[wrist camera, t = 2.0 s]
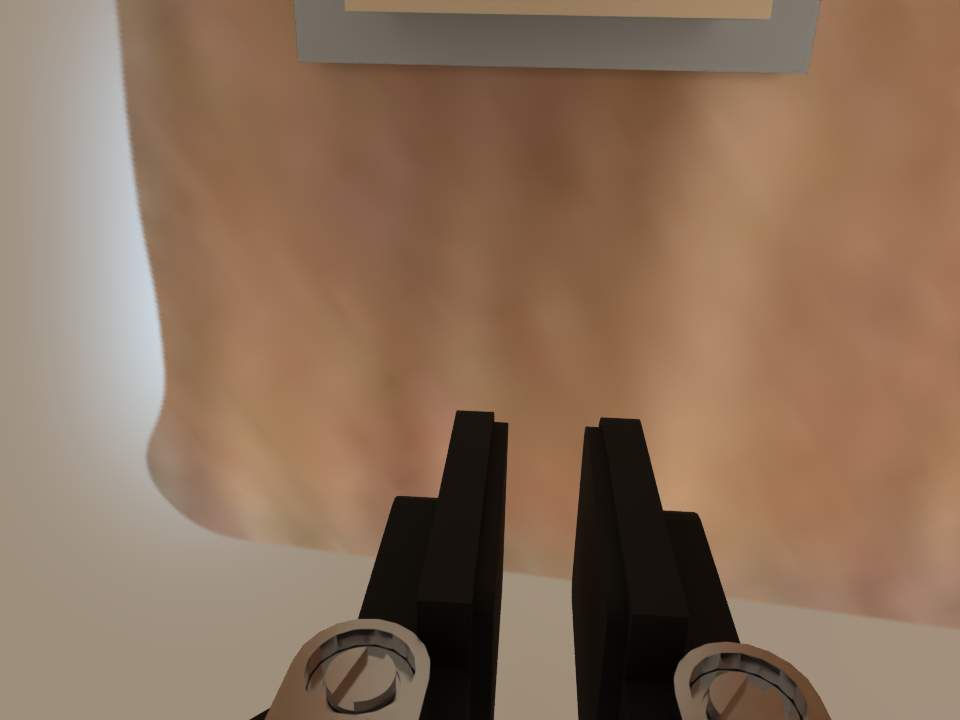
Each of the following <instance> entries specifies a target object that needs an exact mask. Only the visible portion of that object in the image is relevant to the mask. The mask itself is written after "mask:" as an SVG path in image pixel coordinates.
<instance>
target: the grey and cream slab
mask: <svg viewBox="0 0 960 720" xmlns="http://www.w3.org/2000/svg"><path fill="white" fill-rule="evenodd" d="M820 2H821V0H773V5H772V11H771V18H770V19H761V20H726V19H674V18H622V17H570V16H518V15H466V14H415V13H363V12H353V11H345V0H294V9H295V22H296V36H297V49H298V62H321V63H364V64H407V65H450V66H494V67H537V68H580V69H623V70H666V71H710V72H753V73H796V74H808V69H809V63H810V58H811V52H812V47H813V41H814V35H815V30H816V24H817V19H818V13H819V8H820Z"/></svg>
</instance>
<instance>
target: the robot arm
mask: <svg viewBox="0 0 960 720" xmlns="http://www.w3.org/2000/svg"><path fill="white" fill-rule="evenodd" d="M507 447H508V423H503V422H494V412H479V411H459V410H457V412H456V415H455V420H454V425H453V430H452V434H451V439H450V444H449V449H448V453H447V458H446V463H445V468H444V472H443V477H442V482H441V487H440V491H439V496H438V498H428V497H410V496H397V497H395V499H394V502H393V504H392V508H391V511H390V514H389V518H388V521H387V524H386V528H385V531H384V534H383V538H382V541H381V544H380V548H379V551H378V554H377V558H376V561H375V564H374V568H373V571H372V574H371V578H370V581H369V584H368V587H367V591H366V594H365V597H364V601H363V604H362V607H361V611H360V614H359V617H358V619H356V620H352V621H347V622H343V623H338V624H336V625H334V626H332V627H329V628H327V629H325V630H323V631H321V632H319V633H318V634H316V635H315V636H314V637H313V638H311V639H310V640H309V641H308V642H306V643H305V644H304V645H303V646H302V648H301V649H300V651H299V652H298V654H297V655H296V656H295V658H294V659H293V661H292V663H291V665H290V667H289V669H288V671H287V674H286V676H285V678H284V680H283V682H282V684H281V686H280V688H279V690H278V692H277V695H276V697H275V699H274V701H273V703H272V705H271V707H270V708H269V709H267V710H266V711H264V712H262V713H260V714H259V715H257V716H255V717H254V718H252V719H250V720H494V706H495V690H496V674H497V660H498V644H499V627H500V614H501V613H500V612H501V598H502V580H503V554H504V528H505V501H506V474H507ZM572 610H573V630H574V647H575V665H576V684H577V701H578V719H579V720H831V718H830V716H829V714H828V712H827V710H826V708H825V706H824V704H823V702H822V700H821V698H820V696H819V695H818V693H817V692H816V691H815V689H814V687H813V686H812V685H811V683H810V682H809V680H808V679H807V678H806V677H805V676H804V675H803V674H802V673H800V672H799V671H798V670H797V669H796V668H795V667H794V666H793V665H791V664H790V663H788V662H787V661H785V660H783V659H781V658H780V657H778V656H776V655H774V654H773V653H771V652H769V651H766V650H763V649H760V648H757V647H754V646H751V645H748V644H741V643H740V641H739V638H738V635H737V632H736V629H735V625H734V622H733V619H732V616H731V613H730V610H729V607H728V604H727V600H726V597H725V594H724V591H723V588H722V585H721V582H720V579H719V575H718V572H717V569H716V566H715V563H714V560H713V557H712V554H711V551H710V547H709V544H708V541H707V538H706V535H705V532H704V529H703V526H702V523H701V520H700V518H699V516H698V514H697V513H695V512H681V511H663V509H662V505H661V501H660V497H659V493H658V489H657V485H656V481H655V477H654V473H653V469H652V465H651V461H650V457H649V453H648V449H647V445H646V441H645V437H644V433H643V429H642V425H641V422H640V419H622V418H602V417H601V419H600V422H599V427H586V428H585V433H584V444H583V456H582V468H581V480H580V491H579V503H578V515H577V527H576V539H575V551H574V563H573V575H572Z"/></svg>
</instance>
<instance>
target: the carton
mask: <svg viewBox="0 0 960 720" xmlns="http://www.w3.org/2000/svg"><path fill="white" fill-rule="evenodd" d="M772 5H773V0H345V11H353V12H363V13H415V14H466V15H518V16H570V17H622V18H674V19H726V20H761V19H770V18H771V11H772Z"/></svg>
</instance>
